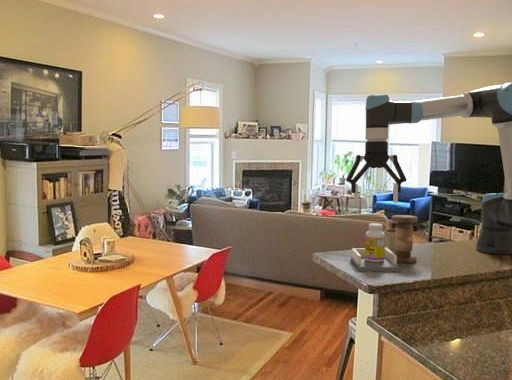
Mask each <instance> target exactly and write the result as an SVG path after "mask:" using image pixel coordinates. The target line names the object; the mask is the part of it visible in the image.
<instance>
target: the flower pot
mask: <svg viewBox="0 0 512 380" xmlns="http://www.w3.org/2000/svg"><path fill="white" fill-rule="evenodd" d="M383 232H384V233H385V238H386V243H387V245H386V246H387V248H388V249H389V250H390V251H391V252H393V253H394V254H396V251H397V250H395V236H396V228H387V229H384V231H383Z"/></svg>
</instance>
